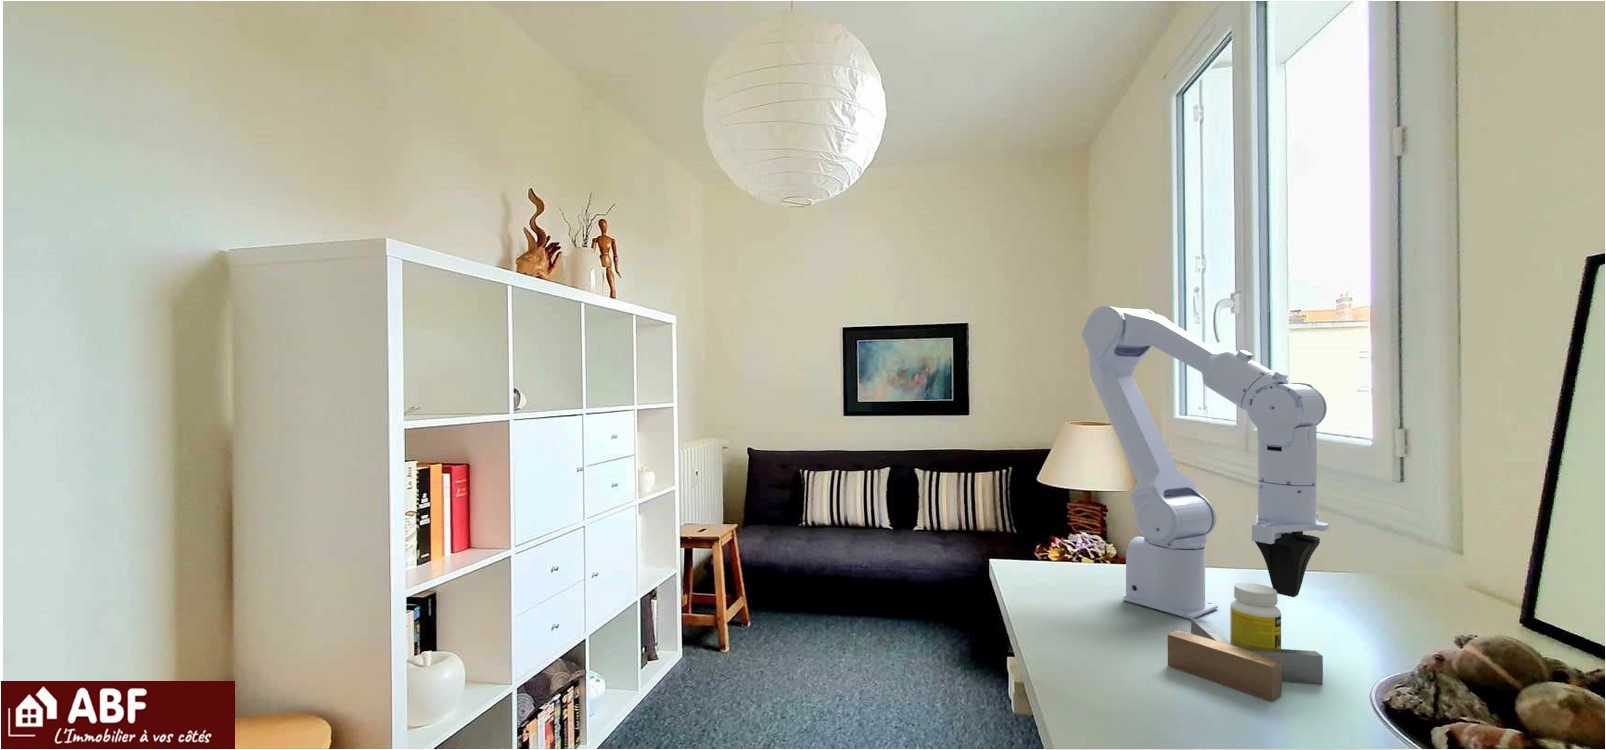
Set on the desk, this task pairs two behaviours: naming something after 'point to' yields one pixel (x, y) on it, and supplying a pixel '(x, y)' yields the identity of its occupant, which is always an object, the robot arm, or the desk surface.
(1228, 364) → the robot arm
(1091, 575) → the desk surface
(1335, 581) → the desk surface
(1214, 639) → the v block
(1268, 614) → the supplement bottle
